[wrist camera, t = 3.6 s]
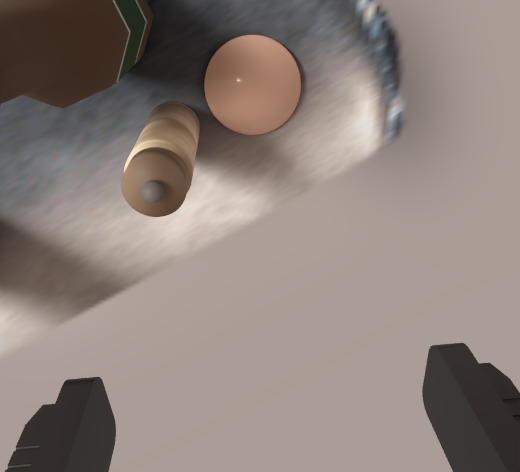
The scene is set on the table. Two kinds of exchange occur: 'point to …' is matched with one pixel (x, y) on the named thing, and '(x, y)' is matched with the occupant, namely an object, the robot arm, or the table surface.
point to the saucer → (252, 84)
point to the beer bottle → (69, 46)
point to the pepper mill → (162, 161)
